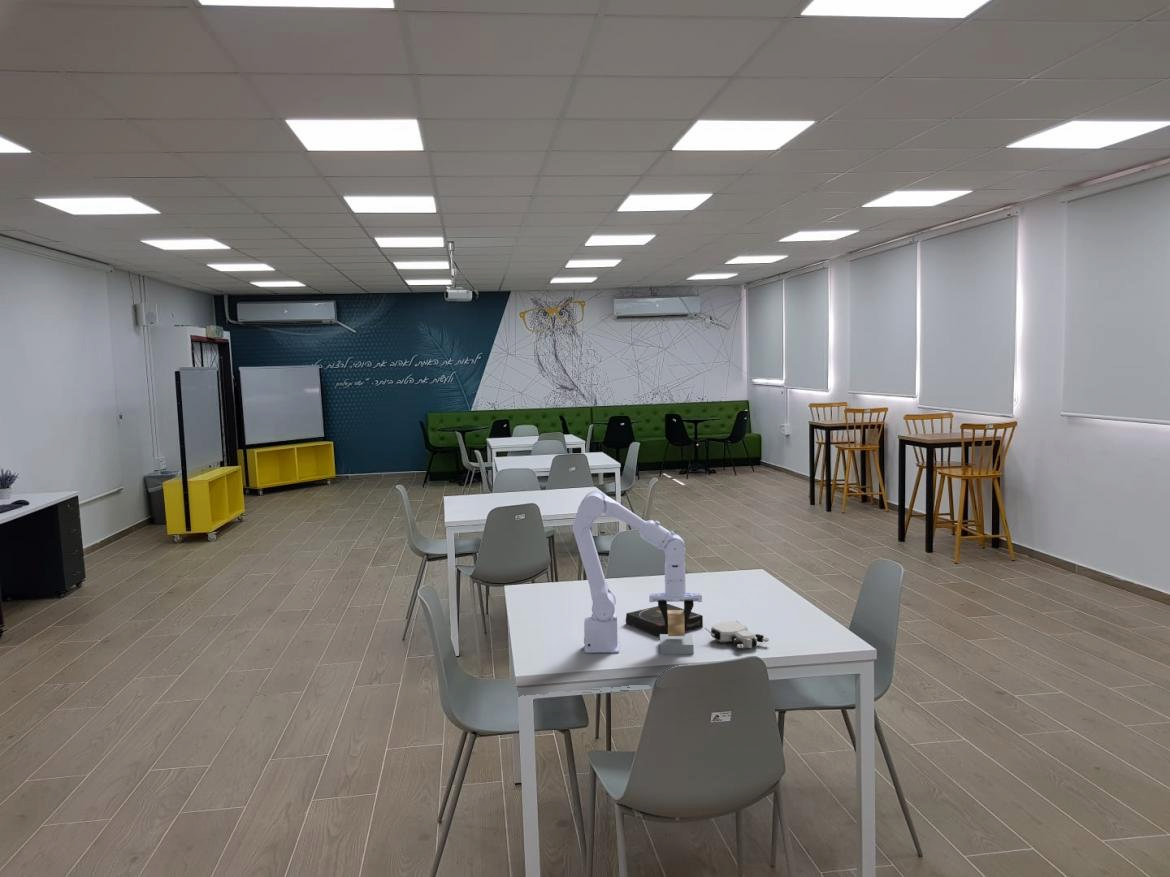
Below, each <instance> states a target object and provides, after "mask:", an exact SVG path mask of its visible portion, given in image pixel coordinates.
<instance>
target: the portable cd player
mask: <svg viewBox="0 0 1170 877" xmlns="http://www.w3.org/2000/svg"><path fill="white" fill-rule="evenodd" d="M667 610H684V608H681V607H678V606H675V605H673V604H670V603H667ZM625 614H626V615H625V624H626V626H629V625H630V626H629V627H632V628H635V629H637V630H640V631H642V632H643V633H647V634H650V635H652V636H655V637H656V638H659V639H660V634H668V628H666V627H665V621H664V618H663V615H662V613H661V610H660V608H659V606H658V605H657V606H653V607H649V608H644V609H640V610H639V609H638V610H635V611H630V612H626V613H625ZM703 618H704V617H703V615H702V614H699V613H696V612H693V611H691V612H690V615H689V618H688V622H687V628H685V633H686V632H690V631H692V630H696V629H701V628H703V627H704V623H703V622H704V619H703ZM667 619H668V613H667Z"/></svg>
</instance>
